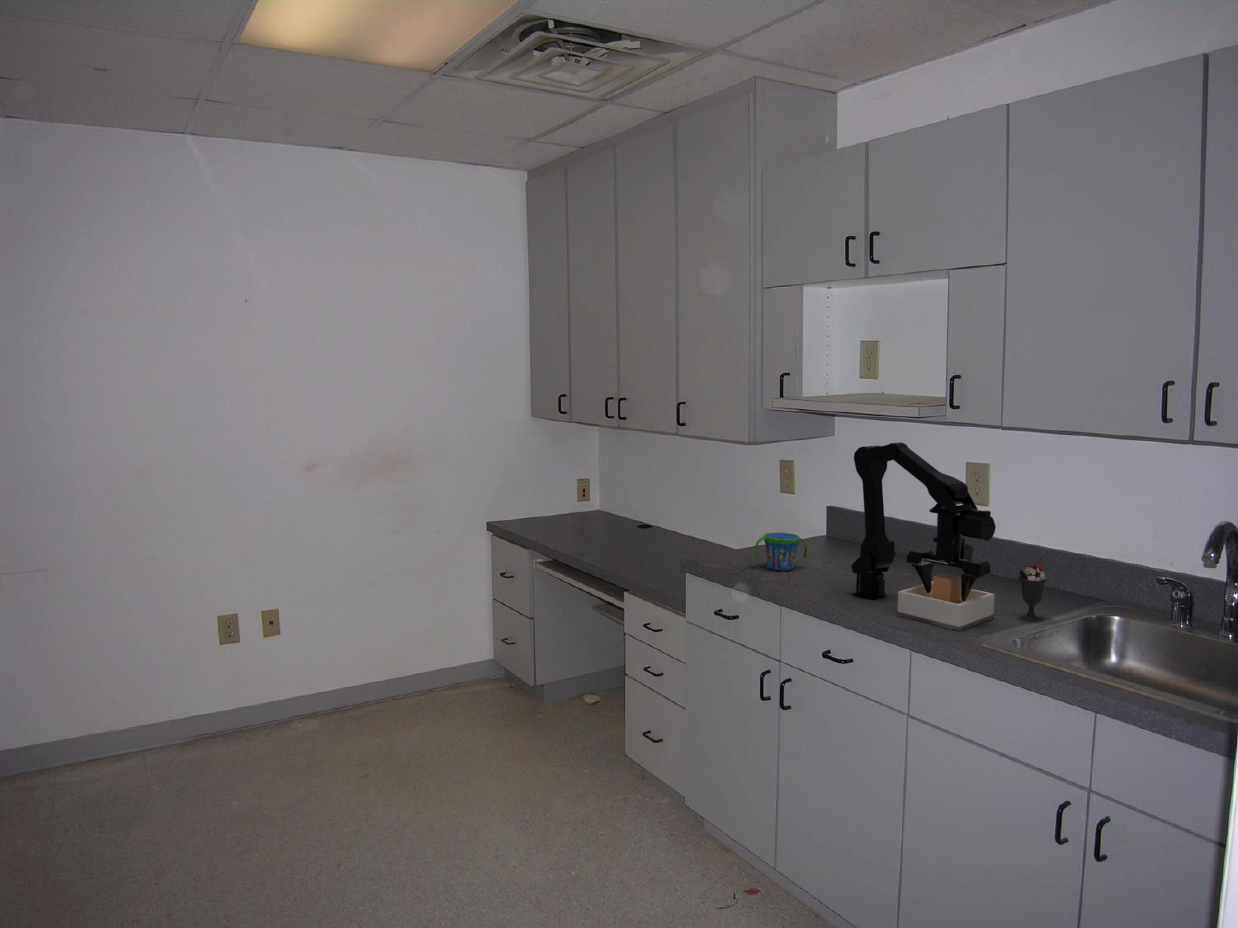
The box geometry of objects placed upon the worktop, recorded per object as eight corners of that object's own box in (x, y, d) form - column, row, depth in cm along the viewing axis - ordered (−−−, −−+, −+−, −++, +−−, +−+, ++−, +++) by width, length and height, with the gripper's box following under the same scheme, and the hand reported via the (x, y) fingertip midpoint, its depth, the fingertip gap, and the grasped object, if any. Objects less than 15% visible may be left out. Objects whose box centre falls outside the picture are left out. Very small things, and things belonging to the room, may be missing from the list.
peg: (931, 612, 210) (933, 576, 209) (941, 609, 213) (943, 573, 212) (949, 616, 207) (950, 579, 206) (958, 613, 210) (960, 576, 209)
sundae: (1049, 618, 209) (1053, 557, 207) (1041, 624, 204) (1044, 562, 202) (1020, 613, 213) (1024, 553, 212) (1011, 619, 208) (1015, 558, 207)
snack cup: (804, 565, 263) (805, 532, 262) (809, 573, 252) (810, 539, 251) (752, 564, 264) (753, 531, 263) (755, 572, 254) (756, 538, 252)
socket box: (897, 615, 211) (898, 591, 210) (932, 604, 221) (933, 581, 221) (959, 631, 199) (960, 605, 198) (993, 618, 209) (994, 594, 208)
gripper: (1003, 535, 206) (999, 599, 208) (931, 523, 220) (928, 583, 222) (980, 541, 199) (976, 607, 200) (907, 529, 213) (904, 591, 215)
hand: (946, 596), depth 210 cm, fingers open, 9 cm apart
